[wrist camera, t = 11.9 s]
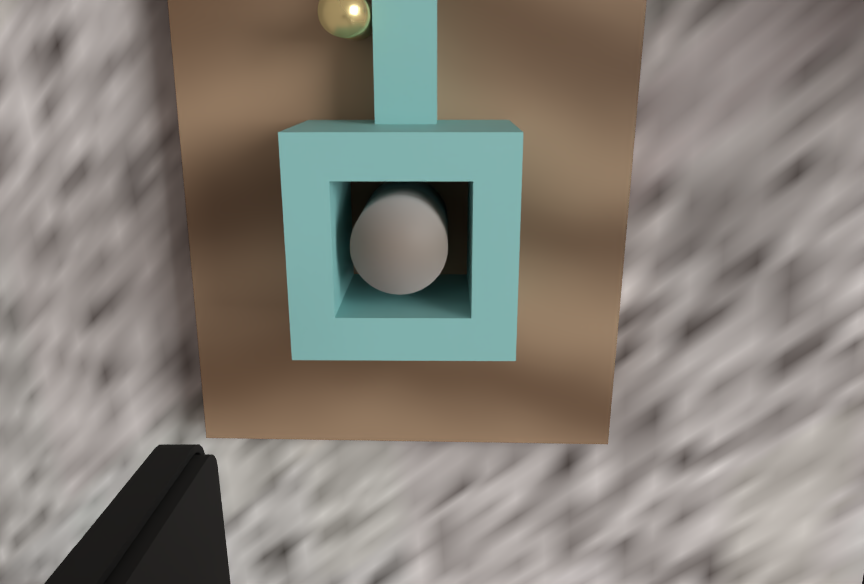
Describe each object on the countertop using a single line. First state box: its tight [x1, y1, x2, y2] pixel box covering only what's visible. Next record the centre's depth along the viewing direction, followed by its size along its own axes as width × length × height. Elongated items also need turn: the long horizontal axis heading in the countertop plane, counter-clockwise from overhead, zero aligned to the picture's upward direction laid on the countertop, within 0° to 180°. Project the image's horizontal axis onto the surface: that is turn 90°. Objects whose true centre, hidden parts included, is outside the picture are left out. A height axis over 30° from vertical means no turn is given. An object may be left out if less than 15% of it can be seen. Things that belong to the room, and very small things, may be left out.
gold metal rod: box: [318, 0, 373, 41], centre depth 23 cm, size 1×1×4 cm
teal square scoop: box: [278, 0, 523, 361], centre depth 24 cm, size 13×7×5 cm, turn 0°
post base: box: [168, 0, 646, 444], centre depth 26 cm, size 18×16×6 cm
